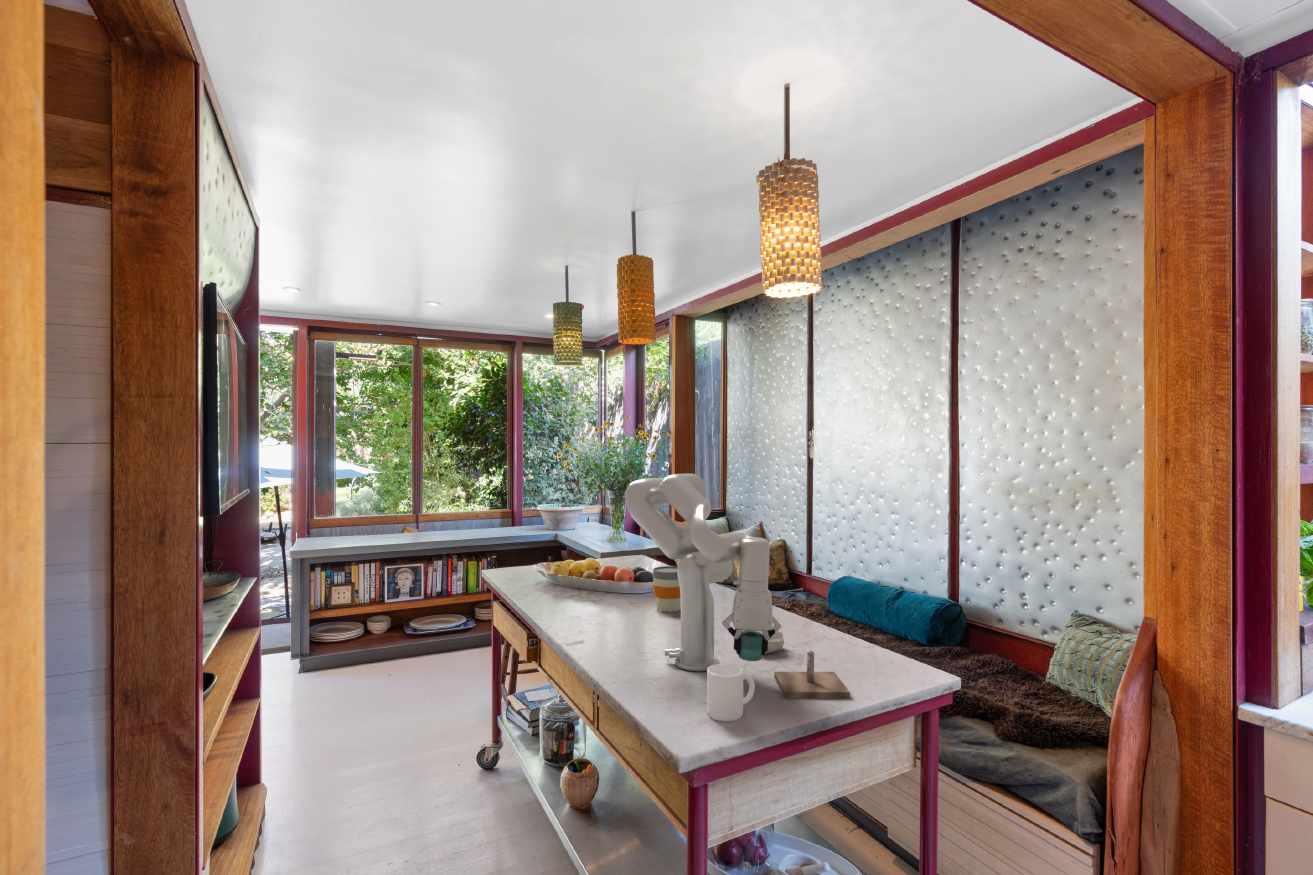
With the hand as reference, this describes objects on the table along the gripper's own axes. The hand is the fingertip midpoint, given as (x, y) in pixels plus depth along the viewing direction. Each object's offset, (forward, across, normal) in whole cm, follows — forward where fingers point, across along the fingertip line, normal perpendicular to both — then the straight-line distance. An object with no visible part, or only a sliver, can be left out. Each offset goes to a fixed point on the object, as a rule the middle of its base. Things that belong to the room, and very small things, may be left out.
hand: (750, 652), depth 167 cm
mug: (+7, -7, -20) cm, 23 cm away
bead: (+1, 0, 0) cm, 1 cm away
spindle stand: (+7, +15, -4) cm, 17 cm away
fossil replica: (+8, +9, +25) cm, 28 cm away
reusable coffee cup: (+11, -20, +74) cm, 77 cm away
